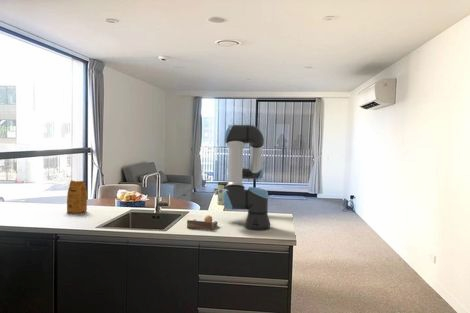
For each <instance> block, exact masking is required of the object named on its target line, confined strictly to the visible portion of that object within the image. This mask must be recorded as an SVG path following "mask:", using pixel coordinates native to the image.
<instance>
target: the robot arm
mask: <svg viewBox="0 0 470 313" xmlns="http://www.w3.org/2000/svg"><path fill="white" fill-rule="evenodd" d="M224 144H226V146H227V147H228V171H227V172H228V173H227V182H228V184H227V185H226V186H225V189H223V199H224V208H225V210H247V215H246V219H245V222H244V228H246V229H247V230H251V231H266V230H270V229H271V222H270V218H269V214H268V212H269V211H268V208H269V207H268V206H269V205H268V204H269V202H268V201H269V192H268V190H267V189H264V188H260V187H253V186H249V187H248V189H245V185H244V184H243V180H262V179H263V178H264V177H263V175H264V170H263V168H261V166H262V151H263V146H264V144H265V137H264V134H263V133H262V131H261V130H260V129H259V128H258V126H255V125H253V124H228V125H227V126H226V128H225V133H224ZM246 144H249V146H250V147H249V148H250V150H249V152H250V153H249V168H247V167H245V168H244V167H243V159H244V158H243V152H244V151H243V150H244V147H246ZM213 193H214V196H218V188H214V192H213Z"/></svg>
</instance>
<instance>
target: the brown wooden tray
mask: <svg viewBox="0 0 470 313" xmlns="http://www.w3.org/2000/svg"><path fill="white" fill-rule="evenodd" d="M217 227H218V221H217V220H214V221H212V222H207V221H204V220H197V219H191V220H190V219H187V220H186V228H187V229H192V230H202V231H203V230H204V231H213V230H214V229H215V228H217Z"/></svg>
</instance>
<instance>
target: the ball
mask: <svg viewBox="0 0 470 313" xmlns="http://www.w3.org/2000/svg"><path fill="white" fill-rule="evenodd" d="M203 221H207V222H213V217H212V216H211V215H209V214H208V215H205V217H204V220H203Z"/></svg>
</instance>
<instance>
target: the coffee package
mask: <svg viewBox="0 0 470 313" xmlns="http://www.w3.org/2000/svg"><path fill="white" fill-rule="evenodd" d="M85 183H86V181H85V180H77V181H76V180H69V184H68V190H67V194H66V195H67V196H66V213H67V212H70V213H71V214H82V213H83V212H86V211H88V207H87V206H88V204H87V203H88V202H87V201H88V190H87V187H86V184H85Z"/></svg>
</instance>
